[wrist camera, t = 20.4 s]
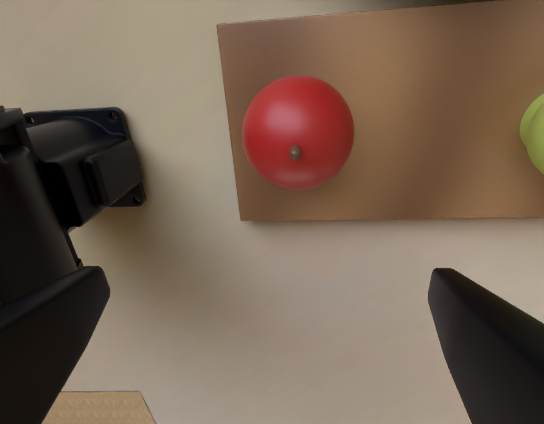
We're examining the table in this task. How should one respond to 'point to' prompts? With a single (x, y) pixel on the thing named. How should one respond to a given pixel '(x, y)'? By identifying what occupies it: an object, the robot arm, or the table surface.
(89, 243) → the table surface
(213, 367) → the table surface
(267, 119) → the apple
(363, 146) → the cutting board
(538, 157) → the pear
